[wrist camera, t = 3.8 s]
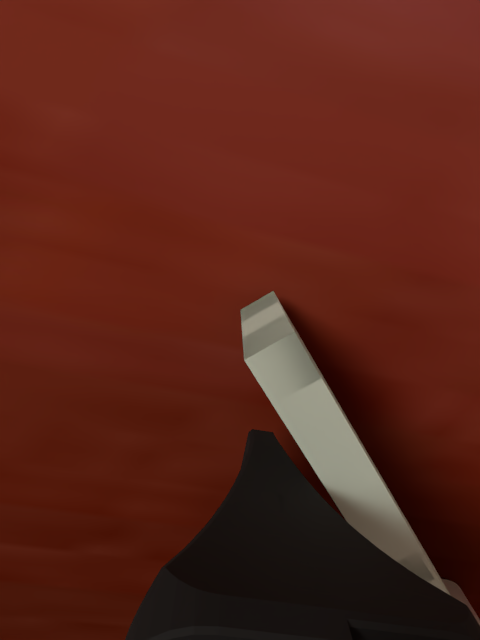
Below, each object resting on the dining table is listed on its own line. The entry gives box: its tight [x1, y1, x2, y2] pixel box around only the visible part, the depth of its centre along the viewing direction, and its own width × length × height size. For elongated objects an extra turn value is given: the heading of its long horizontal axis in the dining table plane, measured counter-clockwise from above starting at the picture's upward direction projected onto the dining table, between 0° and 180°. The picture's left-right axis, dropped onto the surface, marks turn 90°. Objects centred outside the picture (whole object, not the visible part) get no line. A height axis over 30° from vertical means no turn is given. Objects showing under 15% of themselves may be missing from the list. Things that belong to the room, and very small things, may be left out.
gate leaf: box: [241, 291, 451, 596], centre depth 12 cm, size 14×1×4 cm, turn 31°
